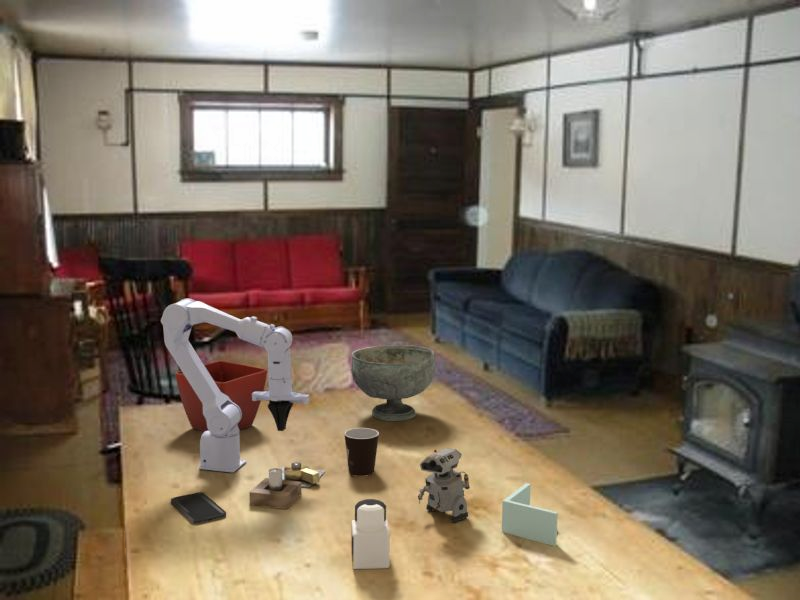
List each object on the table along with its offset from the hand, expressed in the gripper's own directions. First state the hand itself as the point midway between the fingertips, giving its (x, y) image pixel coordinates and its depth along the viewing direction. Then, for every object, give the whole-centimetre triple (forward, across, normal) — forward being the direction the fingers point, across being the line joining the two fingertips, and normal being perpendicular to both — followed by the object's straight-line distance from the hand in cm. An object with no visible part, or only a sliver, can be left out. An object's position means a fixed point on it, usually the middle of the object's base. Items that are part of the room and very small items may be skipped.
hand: (281, 429), depth 214 cm
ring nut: (+10, +7, -5) cm, 13 cm away
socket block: (+10, +6, -18) cm, 22 cm away
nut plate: (+10, +5, -4) cm, 12 cm away
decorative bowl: (+11, +14, +53) cm, 56 cm away
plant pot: (+10, -30, +27) cm, 41 cm away
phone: (+11, -9, -28) cm, 31 cm away
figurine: (+12, +44, -17) cm, 49 cm away
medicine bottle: (+11, +35, -41) cm, 55 cm away
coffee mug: (+11, +19, +6) cm, 23 cm away
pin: (+10, +6, -18) cm, 22 cm away
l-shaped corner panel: (+13, +66, -17) cm, 69 cm away
